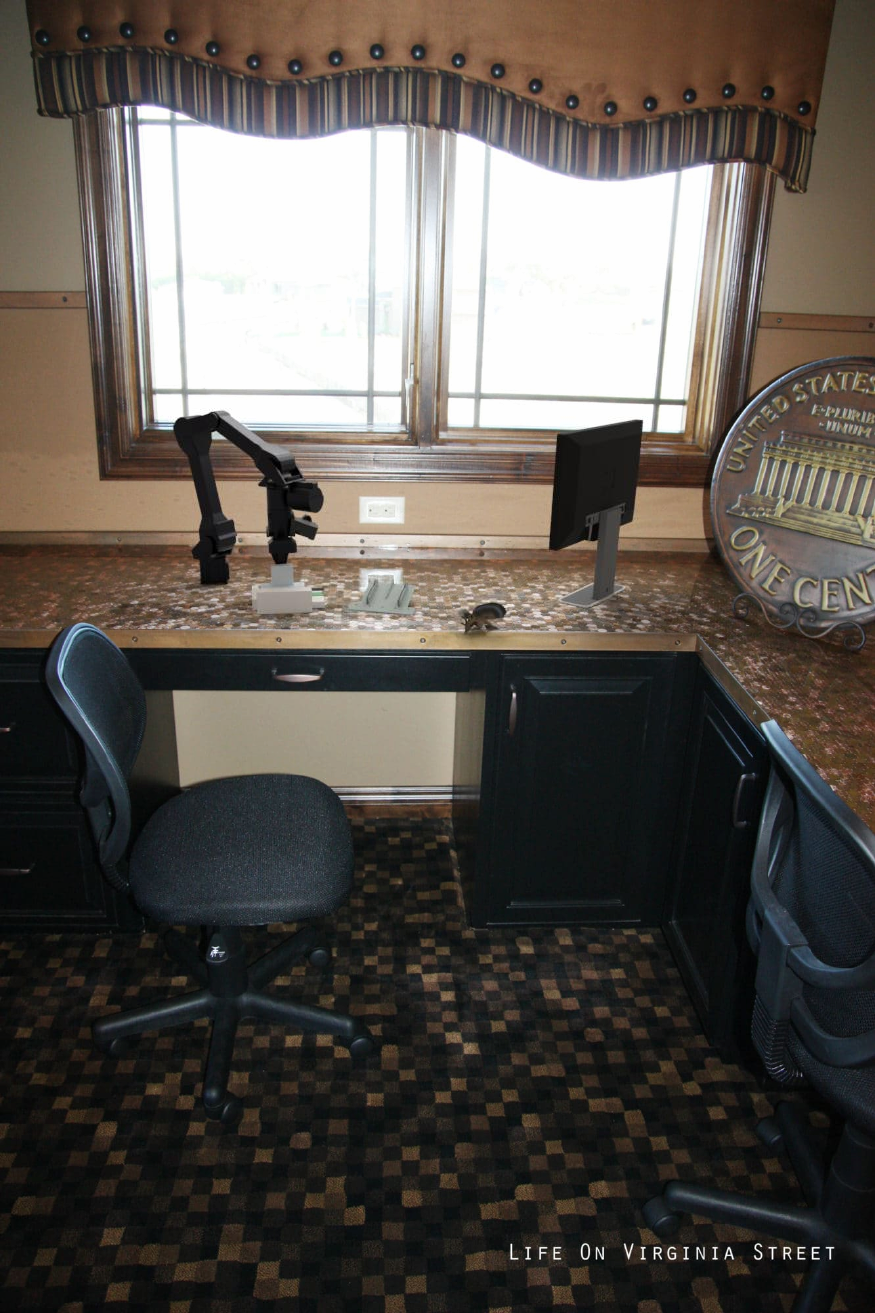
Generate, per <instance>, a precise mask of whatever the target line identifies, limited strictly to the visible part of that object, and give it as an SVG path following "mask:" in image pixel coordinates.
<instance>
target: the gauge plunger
mask: <svg viewBox="0 0 875 1313" xmlns="http://www.w3.org/2000/svg"><path fill="white" fill-rule="evenodd" d="M270 578H271V579H270V580H271V582H263V583H260V588H293V587H306V585H305V582H304V581H298V582H295V580H294V563H287V564H275V563H274V564H273V563H270ZM311 589H312V591H322V592H323V591H325V587H324V586H323V587H311Z"/></svg>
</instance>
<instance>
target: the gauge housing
mask: <svg viewBox="0 0 875 1313" xmlns="http://www.w3.org/2000/svg"><path fill="white" fill-rule="evenodd" d="M311 588H312V587H311V586H305V587H293V588H261V587H260V588H259V584H258V585H251V598H252V599H251V602H252V603H251V605H252V611H257V615H276V614H278V615H279V614H305V613H313V609H325V608H326V607H325V606H326V604H325V603H326V601H325V598H324V593H323V591H312V589H311Z"/></svg>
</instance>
